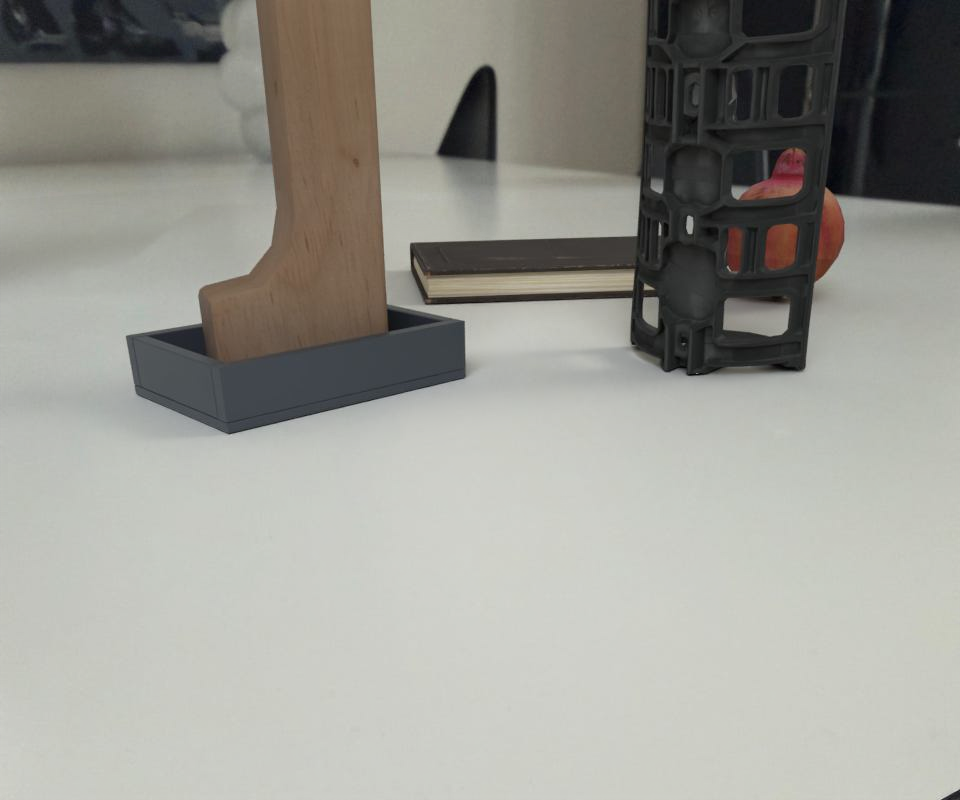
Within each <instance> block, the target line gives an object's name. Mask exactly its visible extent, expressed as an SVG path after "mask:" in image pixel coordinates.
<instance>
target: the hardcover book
mask: <svg viewBox="0 0 960 800" xmlns="http://www.w3.org/2000/svg"><path fill="white" fill-rule="evenodd" d="M636 244H637V235H625V236H623V235H621V236H592V237H591V236H587V237H557V238H556V237H554V238H552V237H551V238H524V239H523V238H521V239H519V238H518V239H489V240H486V239H485V240H483V239H482V240H455V241H454V240H453V241H452V240H450V241H422V242H421V241H419V242H416V241H415V242H410V243H409V258H410V259H409V260H410V262H409V263H410V271H411V273H412V276H413V278H414V281H415V283H416V285H417V288H418V289H419V293H420V295H421V297H422V300H423V301H424V304H425V305H432V304H435V305H437V304H462V303H463V304H465V303H490V302H491V303H492V302H517V301H518V302H519V301H550V300H575V299H576V300H577V299H603V298H632V297H633V284H634V270H635V257H636ZM660 255H661V234H659V237H658V260H659V263H660ZM727 267H728V264H727ZM644 297H658V292H657V291H656V290H655V289H654V288H652V287H650V286H648V285H646V284H644Z"/></svg>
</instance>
